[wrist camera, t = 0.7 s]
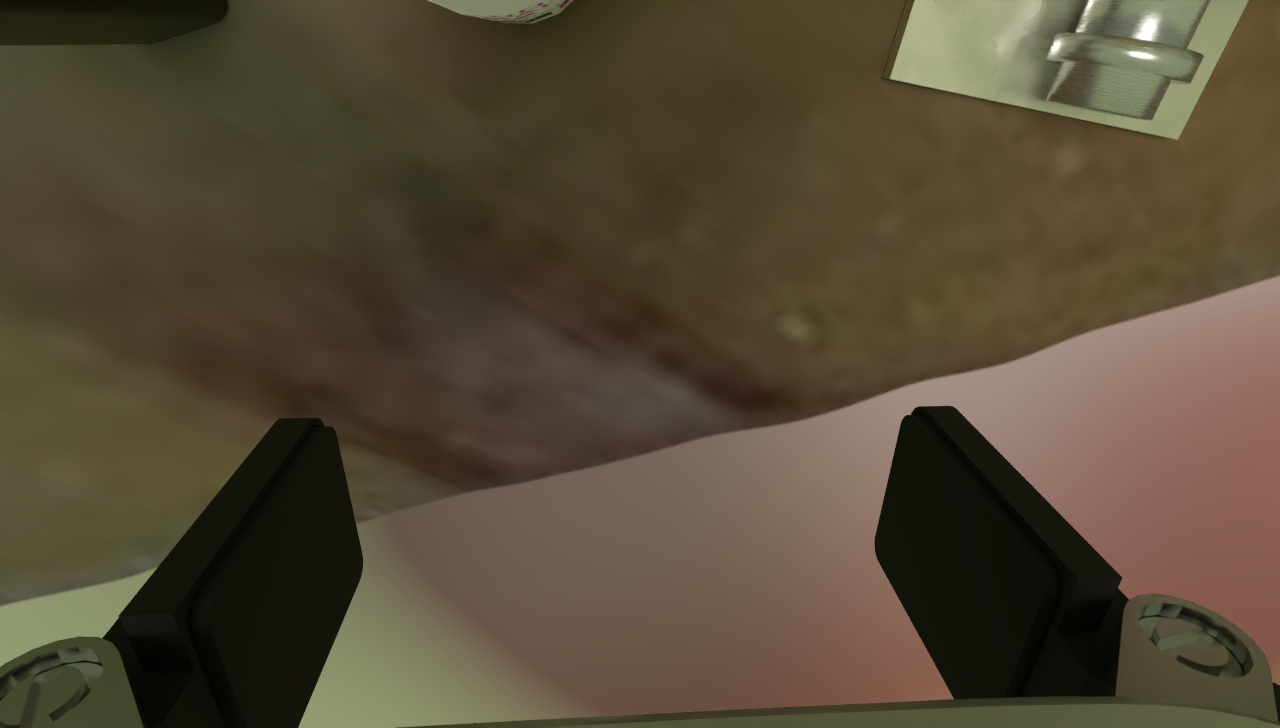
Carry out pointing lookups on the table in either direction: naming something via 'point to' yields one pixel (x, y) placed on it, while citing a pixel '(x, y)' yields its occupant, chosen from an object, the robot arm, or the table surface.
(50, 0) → the wine bottle
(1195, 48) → the valve
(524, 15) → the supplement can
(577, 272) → the table surface
